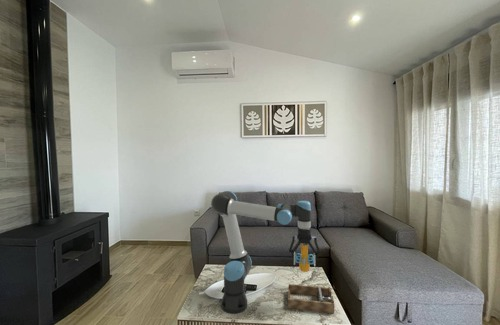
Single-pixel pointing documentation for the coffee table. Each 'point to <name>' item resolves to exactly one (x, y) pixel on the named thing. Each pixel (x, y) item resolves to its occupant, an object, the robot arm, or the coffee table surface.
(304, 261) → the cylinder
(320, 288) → the pusher
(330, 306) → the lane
